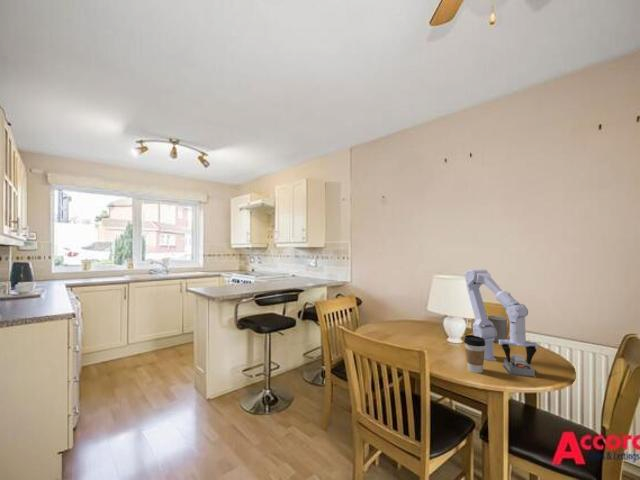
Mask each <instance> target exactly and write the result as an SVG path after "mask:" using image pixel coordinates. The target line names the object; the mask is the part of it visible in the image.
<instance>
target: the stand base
mask: <svg viewBox="0 0 640 480" xmlns="http://www.w3.org/2000/svg"><path fill="white" fill-rule="evenodd" d="M511 361H512V359H510V362H508V361H507V358H506V359H505V358H504V359H503V365H502V367H503V368H504V369H505V371H506V373H508V375H509V376H520V377H528V378H537V377H538V376H536V375H535V374H536V372H535V368H533V366H531V364H528V363H527V360H525V361H526V363H525V366H526V367H524V365H518V366H514V365H513V364H512V362H511Z"/></svg>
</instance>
